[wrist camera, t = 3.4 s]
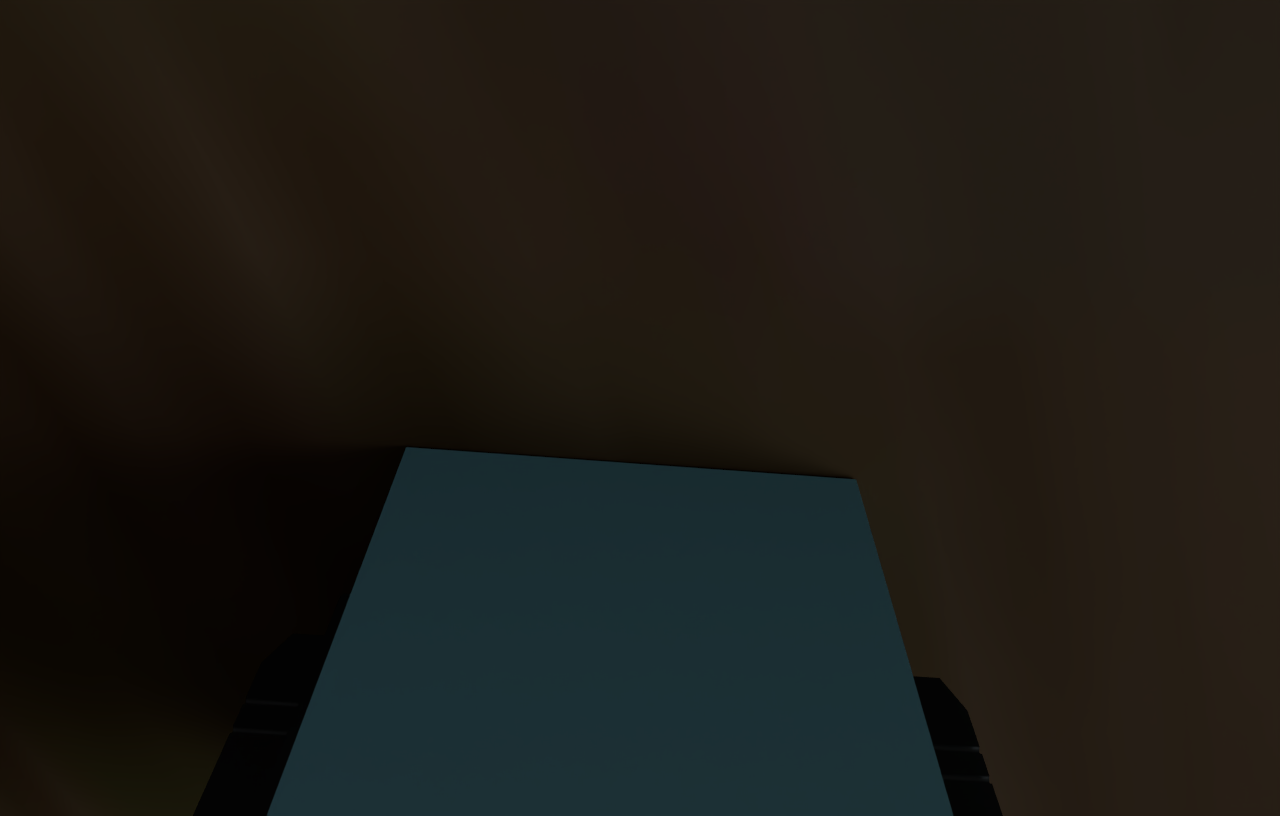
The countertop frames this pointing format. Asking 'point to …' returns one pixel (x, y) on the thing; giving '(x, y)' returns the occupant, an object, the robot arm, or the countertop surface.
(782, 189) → the countertop surface
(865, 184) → the countertop surface
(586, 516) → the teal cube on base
